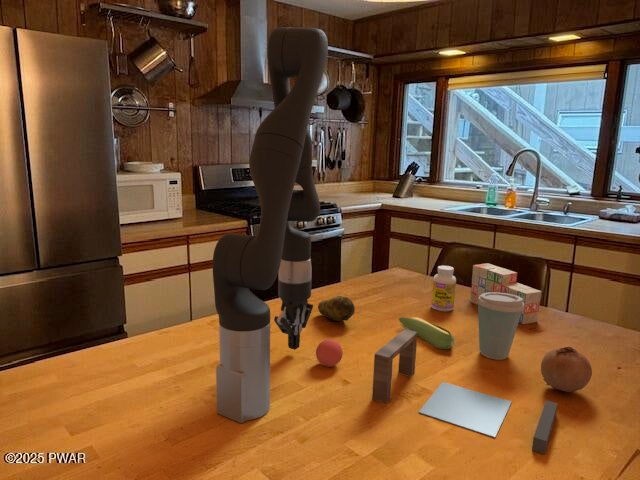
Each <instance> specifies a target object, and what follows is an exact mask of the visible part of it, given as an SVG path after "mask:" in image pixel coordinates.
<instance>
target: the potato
mask: <svg viewBox="0 0 640 480" xmlns="http://www.w3.org/2000/svg"><path fill="white" fill-rule="evenodd" d="M317 309H318V312H319V313H320V314H321V315H322V316H324V317H326V318H328V319H330V320H332V321H336V322H343V321H348V320H350V318H351V317H352V316H353V315H354V314H355V311H356V307H355V303H354V302H353V301H352V299H350V298H349V297H347V296H339V295H338V296H334V297H331V298H329V299H324V300H322V301H320V302H318V306H317Z"/></svg>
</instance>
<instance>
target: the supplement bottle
mask: <svg viewBox="0 0 640 480" xmlns="http://www.w3.org/2000/svg"><path fill="white" fill-rule="evenodd" d="M454 272H455V269H454V267H453V266H449V265H438V266H437V273H436V274H435V275H434V276H433V281H432V289H431V290H432V292H431V304H430V306H431V308H432V309H433V310H436V311H437V312H438V311H439V312H451V311H452V310H454V306H455V298H456V297H455V295H456V288H457V278H456V276H455V275H454Z"/></svg>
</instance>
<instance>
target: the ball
mask: <svg viewBox="0 0 640 480" xmlns="http://www.w3.org/2000/svg"><path fill="white" fill-rule="evenodd" d="M315 356H316V359H317V361H318V362H319V364H321V365H322V366H324V367H329V368H330V367H335V366H336V365H339V363H340V362H341V360H342V359H343V348H342V346H341V344H340V343H339V342H338V341H336V340H334V339H331V338H328V339H324V340H322V341H320V342H319V344H317V346H316V349H315Z"/></svg>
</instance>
